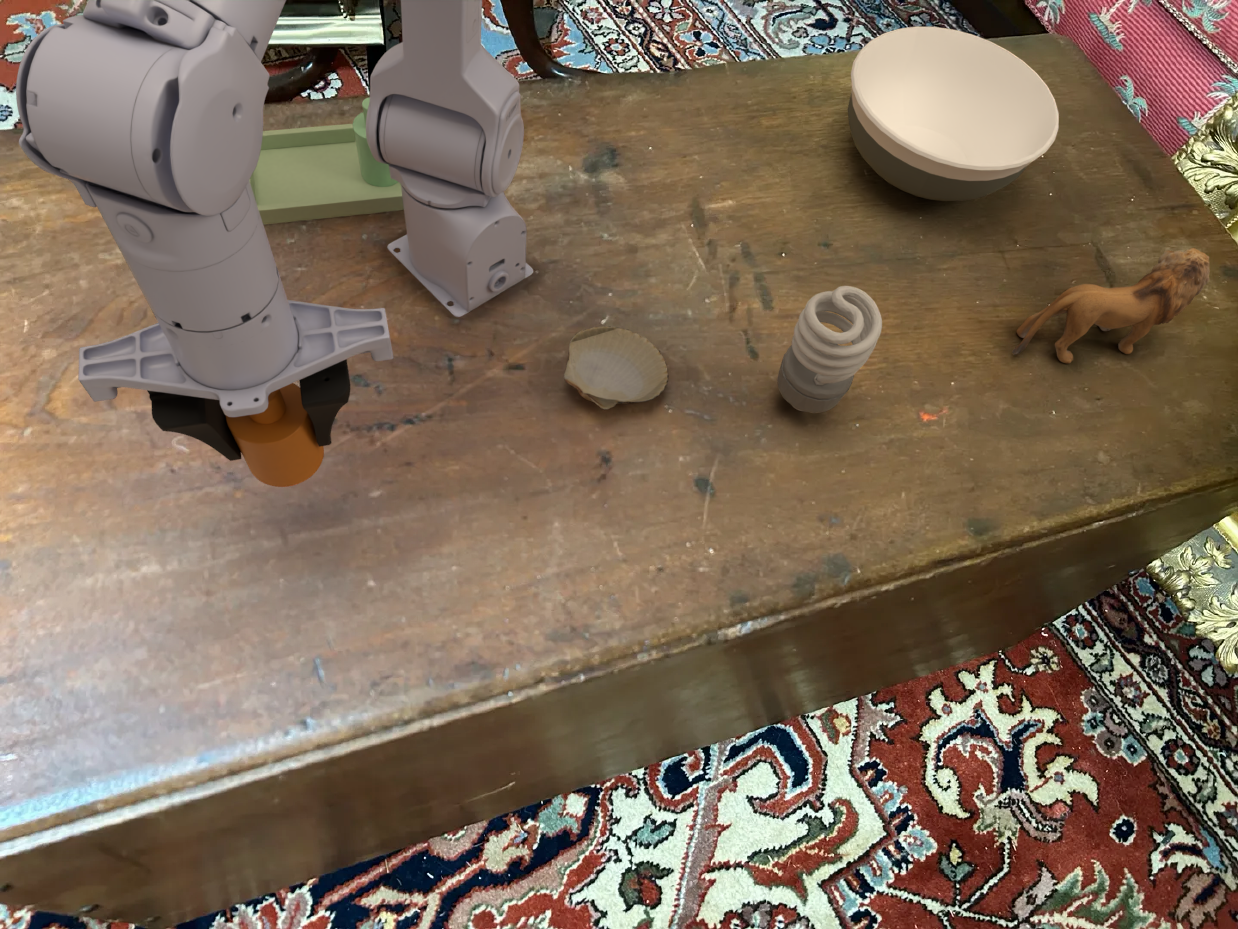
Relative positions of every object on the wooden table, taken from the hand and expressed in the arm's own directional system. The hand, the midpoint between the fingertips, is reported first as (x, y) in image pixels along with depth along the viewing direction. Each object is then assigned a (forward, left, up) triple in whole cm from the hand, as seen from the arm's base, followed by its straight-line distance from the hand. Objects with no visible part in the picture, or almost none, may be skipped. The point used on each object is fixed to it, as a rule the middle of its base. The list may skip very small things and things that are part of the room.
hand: (278, 438), depth 53 cm
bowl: (-4, -64, -11) cm, 65 cm away
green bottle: (+24, -23, -10) cm, 34 cm away
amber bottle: (0, 0, -2) cm, 2 cm away
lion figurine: (-26, -59, -11) cm, 65 cm away
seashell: (-4, -24, -11) cm, 26 cm away
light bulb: (-15, -34, -11) cm, 39 cm away
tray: (+24, -21, -10) cm, 34 cm away
